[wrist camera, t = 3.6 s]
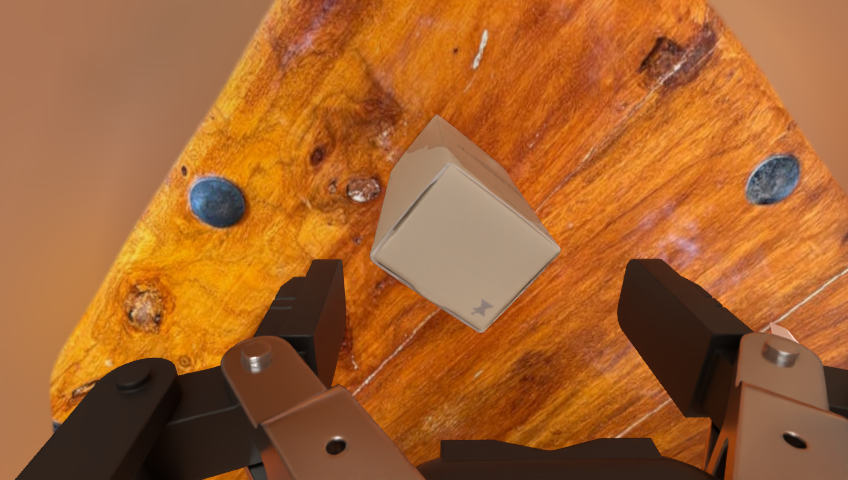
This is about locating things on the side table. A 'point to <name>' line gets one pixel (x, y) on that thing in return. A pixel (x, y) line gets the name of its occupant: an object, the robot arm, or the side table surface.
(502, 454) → the robot arm
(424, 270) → the box
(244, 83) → the side table surface
